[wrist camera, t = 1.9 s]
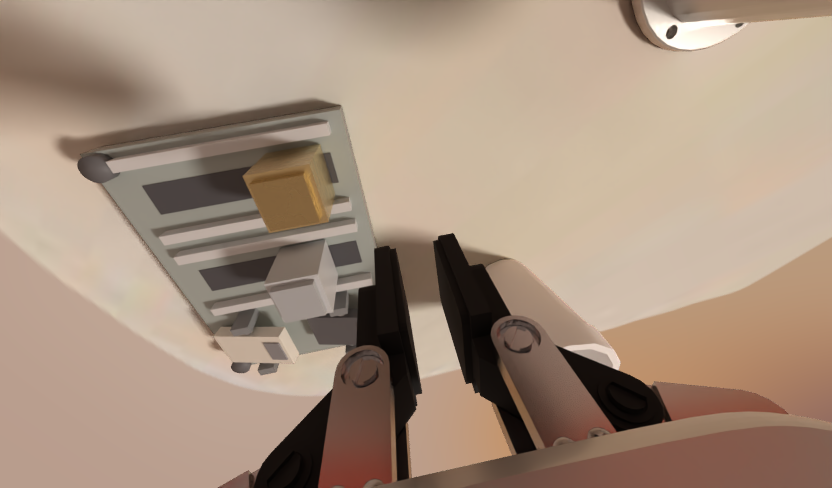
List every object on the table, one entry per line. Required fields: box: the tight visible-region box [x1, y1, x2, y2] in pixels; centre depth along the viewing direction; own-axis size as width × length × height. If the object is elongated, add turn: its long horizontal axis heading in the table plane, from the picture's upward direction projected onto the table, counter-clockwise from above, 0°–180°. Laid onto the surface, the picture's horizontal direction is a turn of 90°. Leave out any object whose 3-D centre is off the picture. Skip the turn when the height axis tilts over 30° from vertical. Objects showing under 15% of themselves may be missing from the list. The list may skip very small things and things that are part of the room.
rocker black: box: [307, 308, 358, 346], centre depth 30 cm, size 7×5×1 cm, turn 98°
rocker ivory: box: [213, 327, 299, 364], centre depth 30 cm, size 7×5×1 cm, turn 98°
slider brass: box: [243, 144, 335, 233], centre depth 21 cm, size 4×4×6 cm
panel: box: [77, 106, 377, 375], centre depth 27 cm, size 18×24×5 cm
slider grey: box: [264, 239, 338, 323], centre depth 25 cm, size 4×4×6 cm
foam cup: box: [485, 259, 621, 370], centre depth 30 cm, size 10×9×13 cm
